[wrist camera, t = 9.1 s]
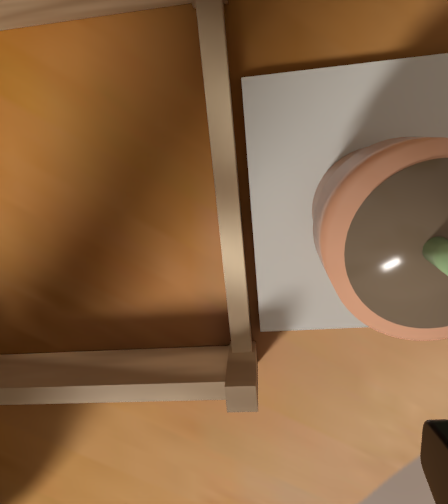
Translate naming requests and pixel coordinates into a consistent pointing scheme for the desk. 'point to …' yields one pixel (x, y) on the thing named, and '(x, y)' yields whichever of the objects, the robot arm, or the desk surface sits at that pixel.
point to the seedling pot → (388, 235)
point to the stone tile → (322, 166)
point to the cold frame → (232, 245)
